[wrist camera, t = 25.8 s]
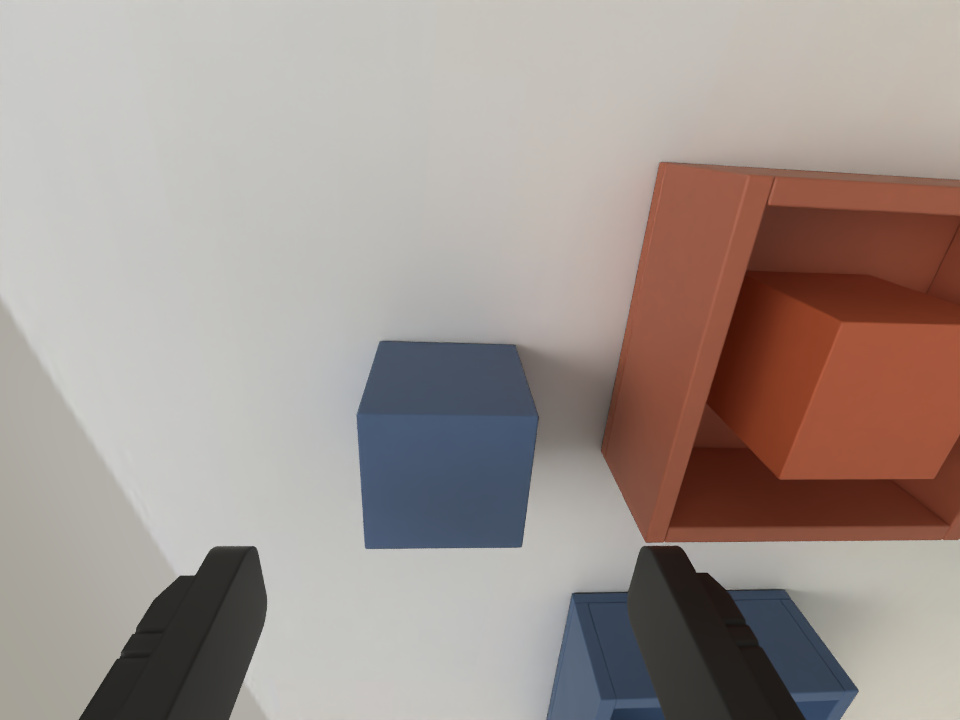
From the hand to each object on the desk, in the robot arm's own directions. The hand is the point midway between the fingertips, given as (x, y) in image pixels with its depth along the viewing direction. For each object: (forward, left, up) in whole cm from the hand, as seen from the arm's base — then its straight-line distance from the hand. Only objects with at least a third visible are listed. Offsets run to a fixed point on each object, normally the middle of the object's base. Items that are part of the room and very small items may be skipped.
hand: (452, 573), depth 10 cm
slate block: (0, 0, -7) cm, 7 cm away
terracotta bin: (+11, +3, -7) cm, 13 cm away
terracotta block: (+11, +3, -7) cm, 13 cm away
